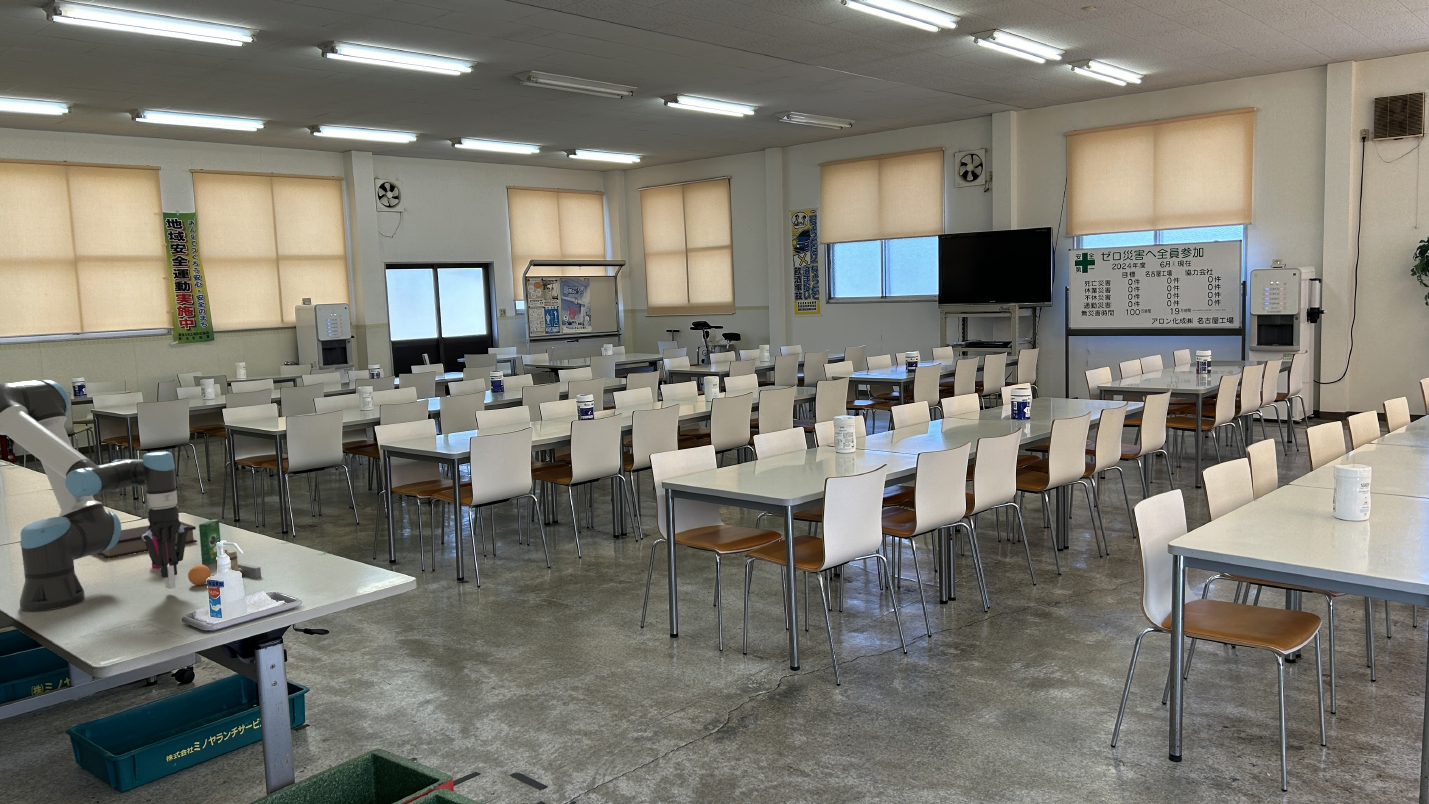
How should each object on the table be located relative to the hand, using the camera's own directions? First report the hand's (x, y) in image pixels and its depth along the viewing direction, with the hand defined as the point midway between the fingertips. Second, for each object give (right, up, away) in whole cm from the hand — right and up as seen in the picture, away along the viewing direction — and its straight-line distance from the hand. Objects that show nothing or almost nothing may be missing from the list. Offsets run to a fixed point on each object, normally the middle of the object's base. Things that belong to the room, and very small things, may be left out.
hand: (170, 587), depth 283 cm
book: (-43, +2, +62) cm, 75 cm away
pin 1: (+8, 0, +16) cm, 18 cm away
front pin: (+7, +1, +10) cm, 12 cm away
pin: (+12, 0, +13) cm, 18 cm away
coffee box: (-7, +1, +37) cm, 37 cm away
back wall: (+13, 0, +19) cm, 23 cm away
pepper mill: (-20, 0, +33) cm, 38 cm away
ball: (+4, +2, +9) cm, 10 cm away
